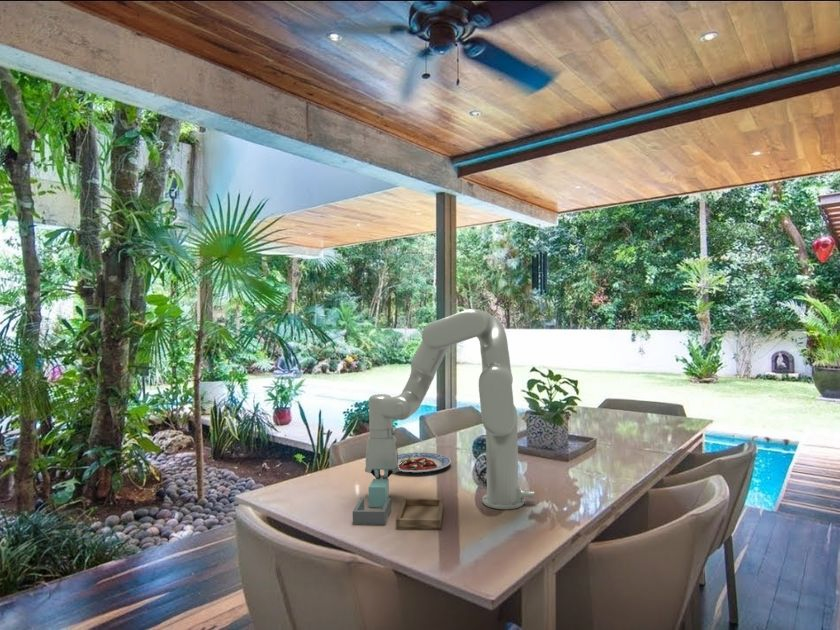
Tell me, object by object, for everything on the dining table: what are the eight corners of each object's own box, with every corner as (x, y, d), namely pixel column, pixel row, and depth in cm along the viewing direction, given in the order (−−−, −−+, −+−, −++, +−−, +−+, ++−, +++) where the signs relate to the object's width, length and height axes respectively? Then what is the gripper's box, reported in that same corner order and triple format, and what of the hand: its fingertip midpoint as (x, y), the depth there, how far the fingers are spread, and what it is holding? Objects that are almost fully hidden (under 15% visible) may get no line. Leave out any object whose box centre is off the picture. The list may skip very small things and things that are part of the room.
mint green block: (390, 493, 166) (390, 475, 166) (385, 507, 154) (384, 487, 154) (375, 493, 167) (375, 475, 167) (368, 507, 155) (368, 487, 155)
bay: (390, 509, 152) (390, 498, 152) (384, 524, 141) (384, 511, 141) (361, 509, 153) (360, 497, 153) (352, 524, 142) (352, 511, 142)
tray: (443, 506, 153) (443, 498, 153) (440, 529, 137) (440, 520, 137) (403, 506, 155) (403, 498, 155) (396, 528, 138) (395, 519, 138)
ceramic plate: (462, 471, 189) (462, 463, 189) (396, 481, 180) (396, 472, 180) (434, 454, 213) (434, 447, 213) (375, 462, 204) (375, 455, 204)
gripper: (405, 430, 168) (407, 486, 168) (360, 430, 169) (361, 486, 169) (403, 436, 161) (404, 494, 160) (355, 436, 162) (356, 494, 162)
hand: (382, 490), depth 165 cm, fingers closed on mint green block, 1 cm apart
